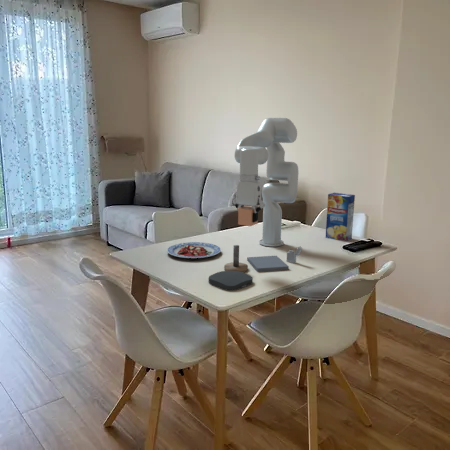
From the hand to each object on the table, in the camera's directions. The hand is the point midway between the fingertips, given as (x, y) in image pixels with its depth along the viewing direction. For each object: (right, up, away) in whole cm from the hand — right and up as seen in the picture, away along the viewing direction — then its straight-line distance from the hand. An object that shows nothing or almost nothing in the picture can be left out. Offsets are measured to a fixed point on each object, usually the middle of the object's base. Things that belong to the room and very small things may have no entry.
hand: (248, 220), depth 192 cm
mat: (+9, -20, +9) cm, 23 cm away
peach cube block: (0, -2, 0) cm, 2 cm away
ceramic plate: (-25, -16, +25) cm, 39 cm away
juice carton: (+52, -9, +55) cm, 77 cm away
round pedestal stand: (-5, -21, +3) cm, 22 cm away
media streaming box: (-8, -25, -13) cm, 29 cm away
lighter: (+21, -19, +13) cm, 31 cm away
